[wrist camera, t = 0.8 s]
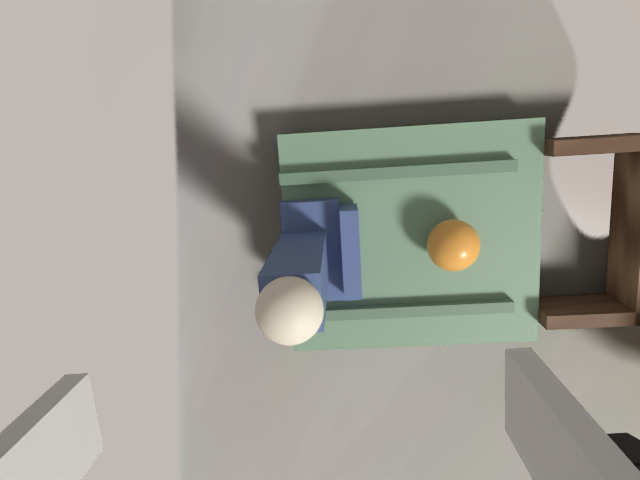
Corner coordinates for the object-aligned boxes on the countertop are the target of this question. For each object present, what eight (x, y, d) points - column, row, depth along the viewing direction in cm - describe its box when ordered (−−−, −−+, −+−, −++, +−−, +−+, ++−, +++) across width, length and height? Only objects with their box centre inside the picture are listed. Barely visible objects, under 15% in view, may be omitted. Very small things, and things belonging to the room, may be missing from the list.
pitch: (281, 134, 36) (275, 134, 33) (531, 118, 35) (550, 117, 32) (297, 337, 39) (293, 355, 36) (524, 327, 39) (541, 345, 35)
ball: (422, 216, 34) (431, 226, 31) (472, 214, 34) (487, 223, 31) (423, 264, 35) (432, 279, 32) (472, 262, 35) (486, 276, 32)
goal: (530, 139, 35) (554, 140, 31) (633, 133, 35) (670, 133, 31) (525, 309, 38) (546, 329, 34) (620, 305, 38) (652, 325, 34)
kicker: (280, 200, 34) (241, 247, 21) (356, 196, 34) (367, 241, 20) (288, 295, 36) (257, 397, 22) (360, 292, 35) (374, 393, 22)
